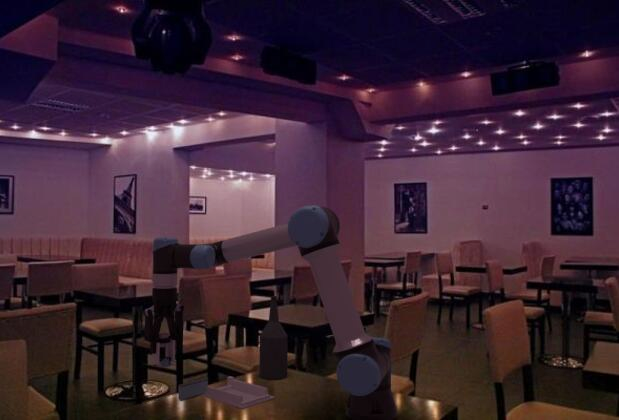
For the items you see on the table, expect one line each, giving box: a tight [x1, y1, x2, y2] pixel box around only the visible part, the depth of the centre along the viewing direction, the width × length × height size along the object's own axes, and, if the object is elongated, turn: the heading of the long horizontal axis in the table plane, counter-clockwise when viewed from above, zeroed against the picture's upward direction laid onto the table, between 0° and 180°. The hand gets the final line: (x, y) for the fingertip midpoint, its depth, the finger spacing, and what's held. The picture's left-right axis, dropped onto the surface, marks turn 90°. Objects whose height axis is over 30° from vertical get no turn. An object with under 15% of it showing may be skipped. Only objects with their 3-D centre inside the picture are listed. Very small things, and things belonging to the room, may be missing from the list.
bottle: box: [259, 295, 289, 381], centre depth 210 cm, size 10×10×30 cm
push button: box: [153, 332, 176, 368], centre depth 177 cm, size 7×5×10 cm
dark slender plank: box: [177, 377, 209, 401], centre depth 184 cm, size 1×11×4 cm, turn 140°
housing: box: [199, 375, 276, 410], centre depth 186 cm, size 22×14×3 cm
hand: (163, 362), depth 176 cm, fingers closed on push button, 5 cm apart
